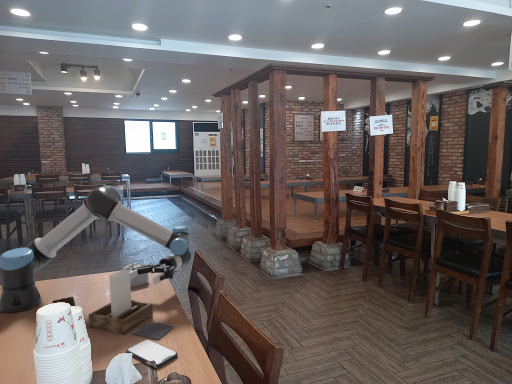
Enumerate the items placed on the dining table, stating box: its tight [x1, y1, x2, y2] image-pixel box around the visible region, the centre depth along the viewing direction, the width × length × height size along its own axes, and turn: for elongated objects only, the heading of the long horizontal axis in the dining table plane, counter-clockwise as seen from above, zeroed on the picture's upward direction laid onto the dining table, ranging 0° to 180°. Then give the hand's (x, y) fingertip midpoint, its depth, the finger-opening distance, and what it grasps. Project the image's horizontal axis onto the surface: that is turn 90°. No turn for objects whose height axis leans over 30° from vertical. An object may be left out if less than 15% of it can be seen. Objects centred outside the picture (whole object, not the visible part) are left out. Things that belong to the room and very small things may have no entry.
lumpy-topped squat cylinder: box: [123, 262, 150, 287], centre depth 177 cm, size 10×13×9 cm
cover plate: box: [109, 268, 132, 318], centre depth 134 cm, size 2×8×18 cm, turn 159°
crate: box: [88, 299, 154, 336], centre depth 135 cm, size 16×16×5 cm
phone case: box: [126, 339, 179, 370], centre depth 112 cm, size 9×2×16 cm
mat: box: [131, 320, 176, 341], centre depth 127 cm, size 11×10×1 cm
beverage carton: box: [52, 296, 76, 307], centre depth 135 cm, size 8×19×7 cm, turn 30°
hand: (139, 279), depth 143 cm, fingers open, 13 cm apart
